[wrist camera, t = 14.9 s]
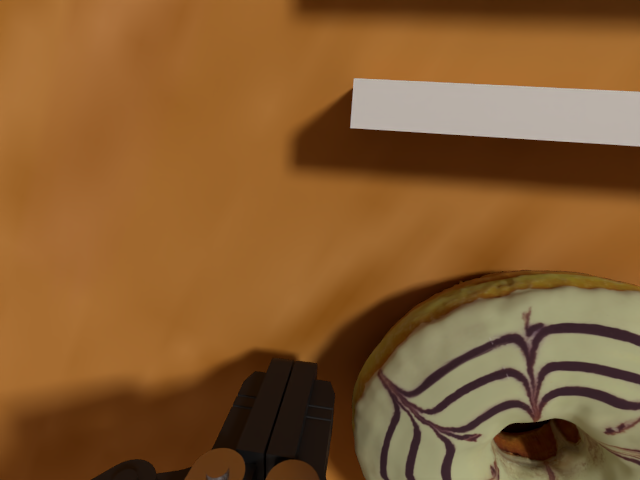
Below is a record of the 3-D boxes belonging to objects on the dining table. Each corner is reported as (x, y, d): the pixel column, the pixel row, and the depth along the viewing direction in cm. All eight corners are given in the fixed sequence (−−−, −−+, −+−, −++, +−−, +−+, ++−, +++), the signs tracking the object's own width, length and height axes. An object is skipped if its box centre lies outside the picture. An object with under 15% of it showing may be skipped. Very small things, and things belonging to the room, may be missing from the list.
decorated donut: (692, 479, 13) (803, 615, 10) (395, 501, 16) (401, 615, 12) (691, 210, 10) (853, 268, 7) (322, 289, 13) (301, 362, 9)
